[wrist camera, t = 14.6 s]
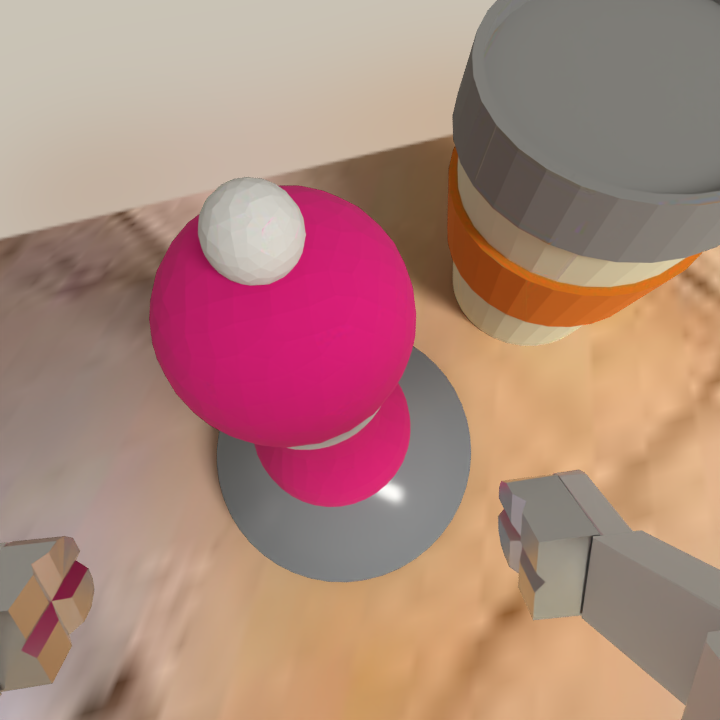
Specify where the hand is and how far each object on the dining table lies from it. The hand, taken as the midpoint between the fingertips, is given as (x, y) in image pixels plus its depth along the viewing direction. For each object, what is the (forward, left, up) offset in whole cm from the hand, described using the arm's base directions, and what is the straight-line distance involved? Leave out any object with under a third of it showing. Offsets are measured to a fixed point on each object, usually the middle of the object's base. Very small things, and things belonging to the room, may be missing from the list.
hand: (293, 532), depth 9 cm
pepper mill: (-3, +4, -16) cm, 17 cm away
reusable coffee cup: (+3, +19, -18) cm, 26 cm away
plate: (-2, +4, -17) cm, 18 cm away
